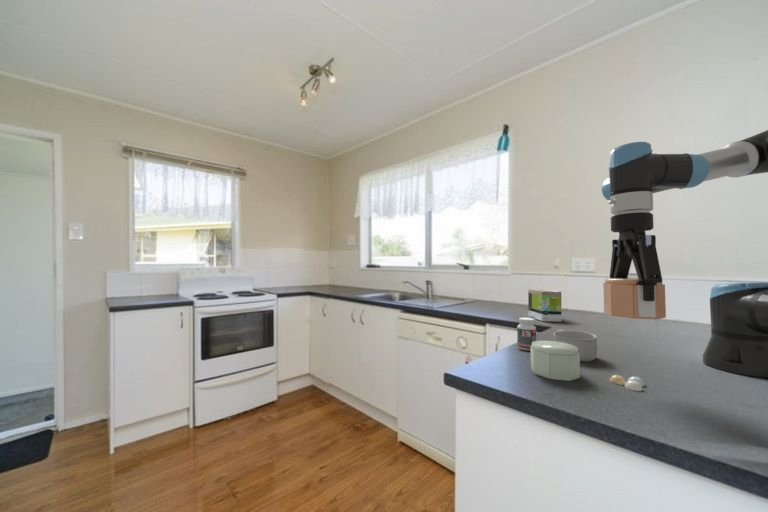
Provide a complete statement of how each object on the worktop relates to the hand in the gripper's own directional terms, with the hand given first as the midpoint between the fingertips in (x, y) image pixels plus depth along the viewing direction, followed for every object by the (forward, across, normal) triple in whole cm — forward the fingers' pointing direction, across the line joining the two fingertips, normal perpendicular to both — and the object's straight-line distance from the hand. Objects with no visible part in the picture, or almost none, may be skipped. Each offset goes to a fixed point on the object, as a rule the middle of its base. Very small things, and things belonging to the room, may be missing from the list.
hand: (633, 312), depth 70 cm
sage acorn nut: (+17, -3, -16) cm, 23 cm away
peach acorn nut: (+1, 0, 0) cm, 1 cm away
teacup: (+18, -21, -6) cm, 28 cm away
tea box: (+18, -92, +1) cm, 94 cm away
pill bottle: (+18, -30, -18) cm, 39 cm away
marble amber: (+16, 0, -3) cm, 16 cm away
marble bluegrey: (+16, 0, 0) cm, 16 cm away
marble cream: (+16, +3, -2) cm, 16 cm away
